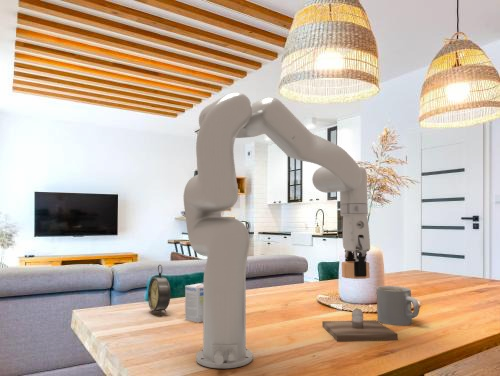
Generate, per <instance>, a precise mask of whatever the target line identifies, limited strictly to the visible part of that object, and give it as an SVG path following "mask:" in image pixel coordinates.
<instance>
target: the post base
mask: <svg viewBox="0 0 500 376" xmlns="http://www.w3.org/2000/svg"><path fill="white" fill-rule="evenodd" d="M321 326H322V328H323V329H324V330H325V331H326V332H327V333H328V334H329V335H330V336H331V337H332V338H333V339H334V340H335V341H337V342H367V341H368V342H369V341H370V342H371V341H374V342H375V341H398V338H399V335H398V333H397V332H395V331H394V330H393V329H390V328H389V327H387V326H386V325H385V324H383V323H380V322H378V320H374V319H372V320H370V319H369V320H367V319H366V320H365V319H364V312H363V311H362V310H361V309H360V308H354V309H353V310H352V312H351V320H327V321H326V320H325V321H324V320H323V321H322V325H321Z"/></svg>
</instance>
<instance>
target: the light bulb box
mask: <svg viewBox="0 0 500 376" xmlns="http://www.w3.org/2000/svg"><path fill="white" fill-rule="evenodd" d="M203 284H204V282H201V283H199V282H198V283H195V284H194V283H193V284H190V285H189V284H187V285H185V288H184V289H185V291H184V293H185V294H184V295H185V298H184V300H185V301H184V303H185V304H184V305H185V307H184V312H185V313H184V317H185V318H184V320H185V321H189V322H194V323H197V324H198V323H199V324H200V323H202V322H203V302H204V289H203Z"/></svg>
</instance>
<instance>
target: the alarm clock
mask: <svg viewBox="0 0 500 376" xmlns="http://www.w3.org/2000/svg"><path fill="white" fill-rule="evenodd" d="M160 268H161V271H160ZM157 271H158V277H154V276H153V277H152V278H151V279H150V282H149V284H148V290H147V299H148V301H147V302H148V306H149V309H150V311H151V312H159V317H162V316H163V315H162V314H163V313H162V311H164V313H167V310H166V309H168V307H169V305H170V301H171V296H172V292H171V286H170V282H169V280H168V279H167V278H166V277H164V276H162V274H163V266H162V264H159V265H158V267H157Z"/></svg>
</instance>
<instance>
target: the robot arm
mask: <svg viewBox="0 0 500 376" xmlns="http://www.w3.org/2000/svg"><path fill="white" fill-rule="evenodd" d="M198 126H199V130H198V133H197V137H196V143H195V145H196V146H195V152H196V153H195V154H196V167H197V169H196V170H197V174H196V175H193V176H192V177H190V179H189V180H188V181H187V182H186V184H185V187H184V190H183V191H184V192H183V207H184V208H183V209H184V216H185V223H186V225H185V226H186V231H187V239H188V241H189V244H190V246H191V248H192V250H193V251H194V252H196V254H198V255H200V256H203V257H207V259H206V262H205V266H204V270H203V271H204V272H203V283H204V284H203V289H204V302H203V326H202V327H203V329H202V331H203V332H202V336H203V337H202V340H203V341H202V349H200V350H198V352H197V353H196V354H195V360H196V363H198V364H199V365H200V366H203V367H206V368H211V369H234V368H239V367H242V366H243V367H244V366H245V365H248V364H250V363H251V362H253V358H254V356H253V355H254V354H253V352H252V351H251V350H250V349H248V348H246V347H247V346H246V345H247V343H246V342H247V341H246V339H247V334H246V333H247V328H246V325H247V321H246V319H247V317H246V316H247V310H246V309H247V304H246V303H247V301H246V300H247V297H246V296H247V293H246V292H247V290H246V285H247V284H246V278H247V276H246V275H247V262H248V257H249V256H248V255H249V249H250V241H251V240H250V239H251V238H250V234H249V230H248V228H247V226H246V225H245V224H244V223H243V222H242V221H240V220H239V219H238V218H237V219H236V218H234V217H231V216H222V212H224V211H228V210H230V209H231V208H233V207H234V206H235V205H236V204H237V202H238V198H239V189H238V188H239V186H238V182H237V181H238V180H237V173H236V164H235V155H234V146H235V145H234V144H235V141H236V139H243V138H254V137H258V136H262V135H266V136H267V137H268V139H269V140H270V141H272V143H274V144H275V145H276V146H277V147H278V148H279V149H280V150H281V151H282V152H283V153H284V154H285V155H286V156H287V157H288V158H291V159H294V160H297V161H300V162H306V163H311V164H315V165H317V166H320V167H318V168H317V169H316V170H315V171H314V173H313V174H312V179H311V180H312V181H311V182H312V185H313V186H314V188H315V189H316V190H317V191H319V192H322V193H325V194H326V193H327V194H328V193H337V192H339V196H340V197H339V198H340V199H339V202H340V203H339V204H340V205H339V207H340V209H339V212H340V216H341V217H342V247H343V249H344V258H345V259H344V262H346V261H356V262H354V276H356V277H366V276H367V272H366V262H368V261H367V260H368V259H367V255H368V254H367V253H368V252H369V251H370V250H371V239H370V227H369V221H368V216H369V212H368V211H369V208H368V207H369V206H368V205H369V203H368V173H367V170H366V168H365V167H363V166H359V164H358V163H357V162H356V160H354V158H353V157H352V156H351V155H350V154H349V153H348V152H347V150H345V148H342V147H340V146H339V145H338V144H336V143H334V142H331V140H330V141H329V140H328V139H326V138H323V137H321V136H319V135H316V134H314V133H312V132H311V131H310V130H309V129H308V128H307V127H306V126H305V125H304V124H303V123H302V122H301V121H300V120H299V118H297V117H296V115H294V113H293V112H292V111H291V110H290V109H289V108H288V107H287V106H286V105H285V104H284V102H282V101H281V100H279V99H278V98H276V97H272V96H270V97H265V98H262V99H260V100H259V99H258V100H257V101H255V102H253V103H251V101H250V98H249V97H248V96H247V95H245V94H244V93H241V92H231V93H228V94H225V95H224V96H222V97H220V98H218V99H217V100H215V101H214V102H212V103H210V104H207V106H205V107H204V108H203V109H202V110H201V111H200V114H199V116H198Z"/></svg>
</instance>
